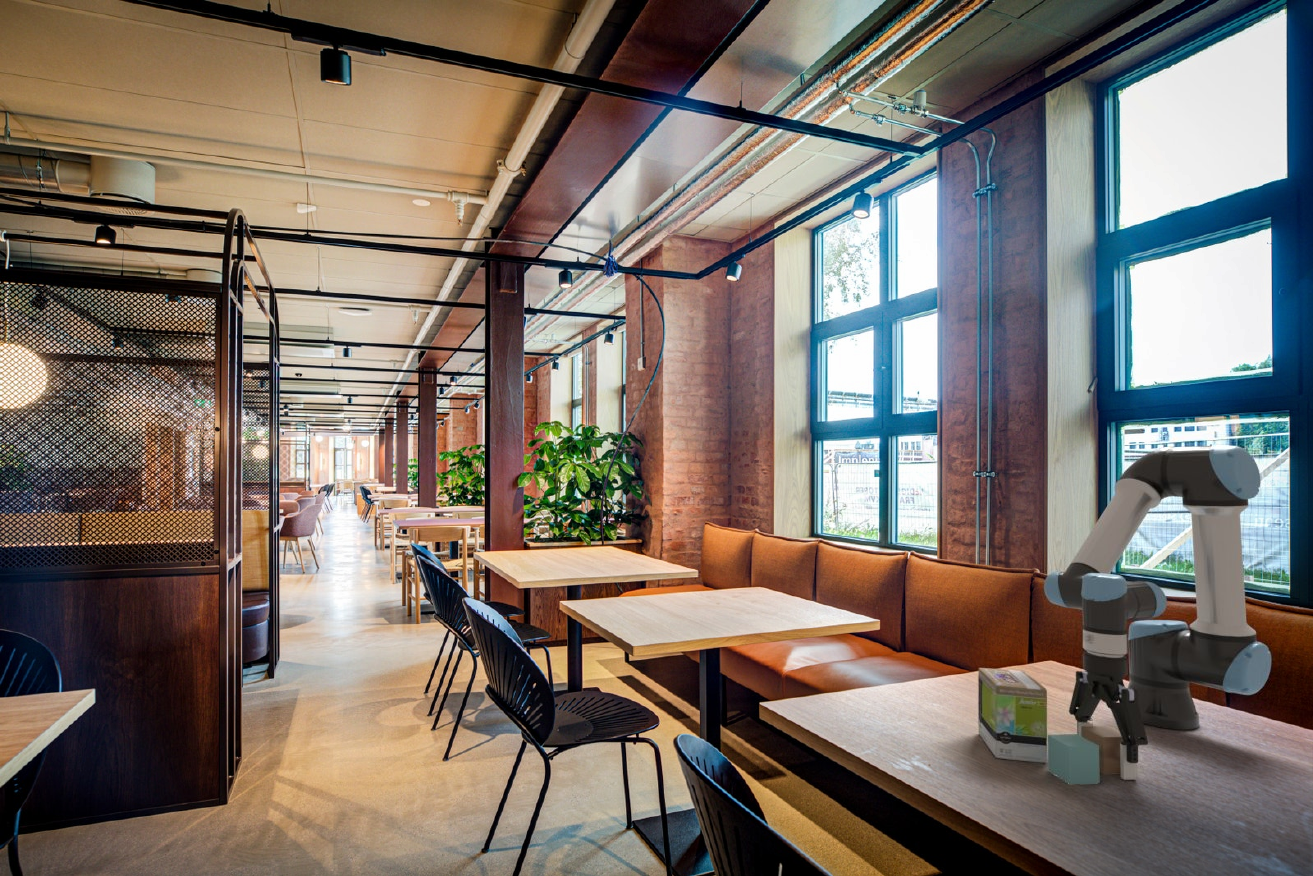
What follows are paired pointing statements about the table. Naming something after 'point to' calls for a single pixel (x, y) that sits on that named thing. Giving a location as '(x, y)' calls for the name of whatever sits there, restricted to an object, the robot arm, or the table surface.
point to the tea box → (1012, 714)
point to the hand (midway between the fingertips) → (1106, 766)
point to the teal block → (1073, 759)
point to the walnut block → (1105, 747)
